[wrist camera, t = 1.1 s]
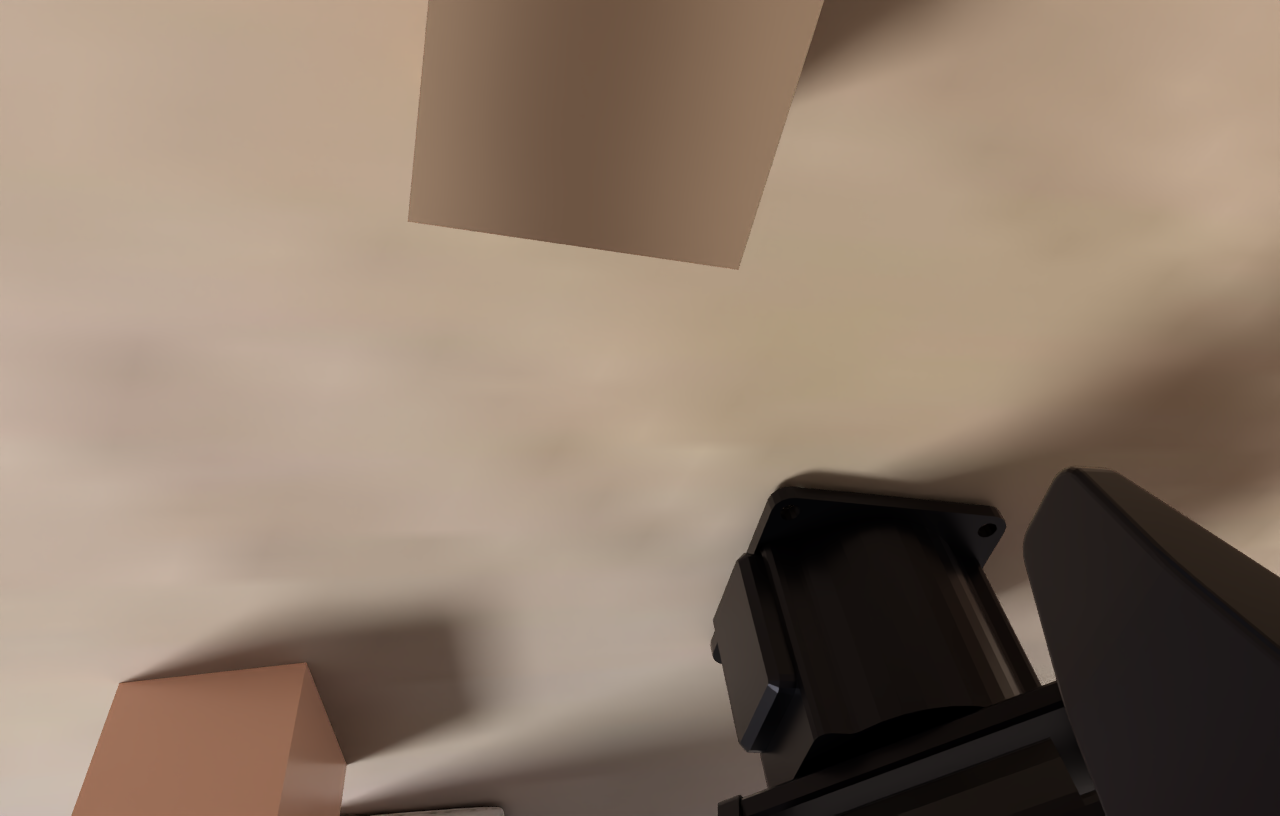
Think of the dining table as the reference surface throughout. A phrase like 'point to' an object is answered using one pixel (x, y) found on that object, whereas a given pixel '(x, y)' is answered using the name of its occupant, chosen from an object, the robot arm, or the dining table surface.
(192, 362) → the dining table surface
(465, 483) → the dining table surface
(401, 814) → the skincare box
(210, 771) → the terracotta cube
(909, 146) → the dining table surface
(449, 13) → the walnut cube
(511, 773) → the dining table surface
